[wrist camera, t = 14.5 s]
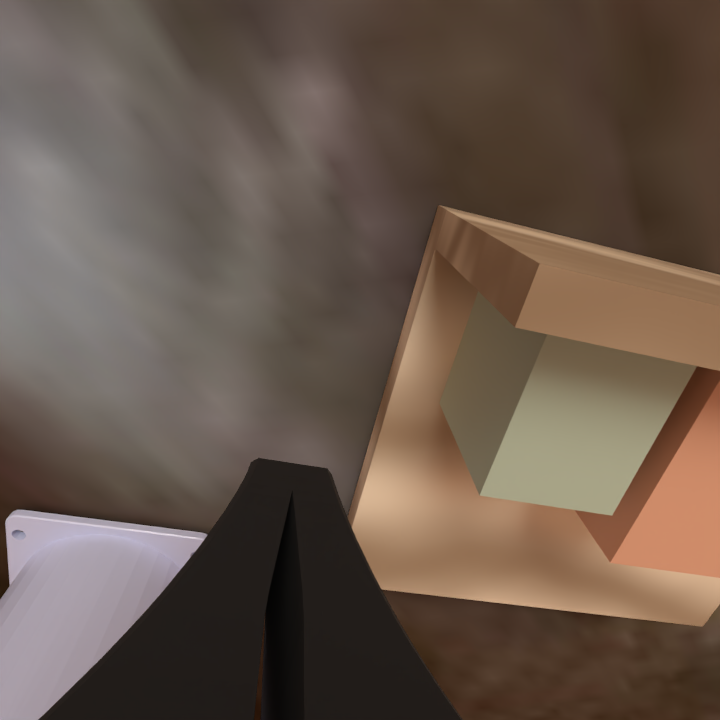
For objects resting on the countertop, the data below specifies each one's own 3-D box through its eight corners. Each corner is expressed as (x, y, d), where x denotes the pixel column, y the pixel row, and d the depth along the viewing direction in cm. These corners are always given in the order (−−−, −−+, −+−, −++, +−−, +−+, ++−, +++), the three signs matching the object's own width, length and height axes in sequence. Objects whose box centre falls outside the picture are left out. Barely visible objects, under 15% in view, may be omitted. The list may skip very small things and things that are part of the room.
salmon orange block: (631, 476, 20) (724, 578, 15) (541, 461, 19) (610, 562, 14) (723, 316, 17) (870, 381, 12) (621, 292, 16) (737, 351, 12)
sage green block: (540, 421, 18) (612, 515, 14) (439, 403, 18) (479, 495, 13) (600, 287, 16) (709, 345, 12) (488, 261, 15) (556, 311, 11)
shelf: (686, 605, 25) (840, 803, 17) (334, 561, 22) (339, 777, 15) (891, 317, 19) (1268, 435, 11) (438, 205, 16) (539, 263, 8)
